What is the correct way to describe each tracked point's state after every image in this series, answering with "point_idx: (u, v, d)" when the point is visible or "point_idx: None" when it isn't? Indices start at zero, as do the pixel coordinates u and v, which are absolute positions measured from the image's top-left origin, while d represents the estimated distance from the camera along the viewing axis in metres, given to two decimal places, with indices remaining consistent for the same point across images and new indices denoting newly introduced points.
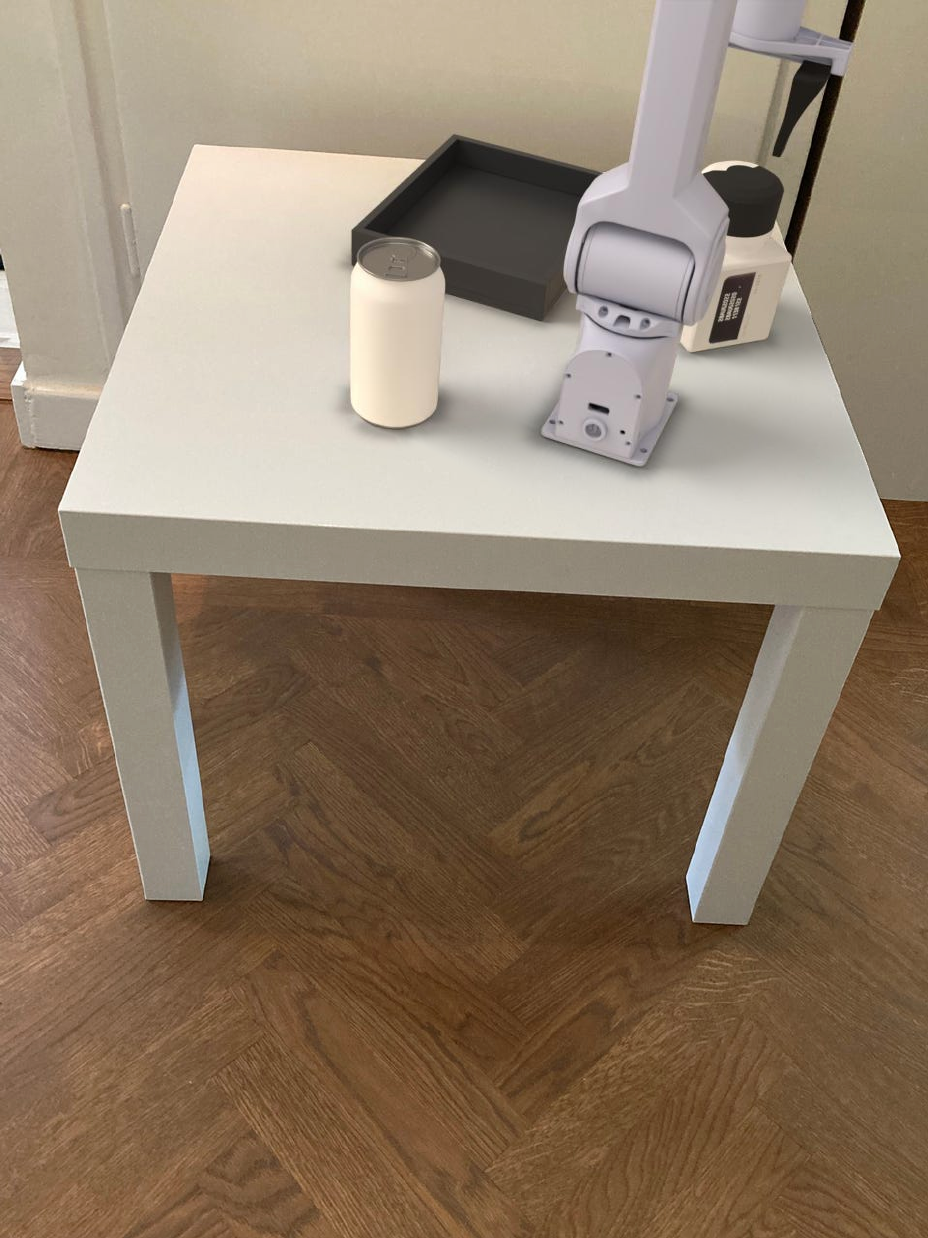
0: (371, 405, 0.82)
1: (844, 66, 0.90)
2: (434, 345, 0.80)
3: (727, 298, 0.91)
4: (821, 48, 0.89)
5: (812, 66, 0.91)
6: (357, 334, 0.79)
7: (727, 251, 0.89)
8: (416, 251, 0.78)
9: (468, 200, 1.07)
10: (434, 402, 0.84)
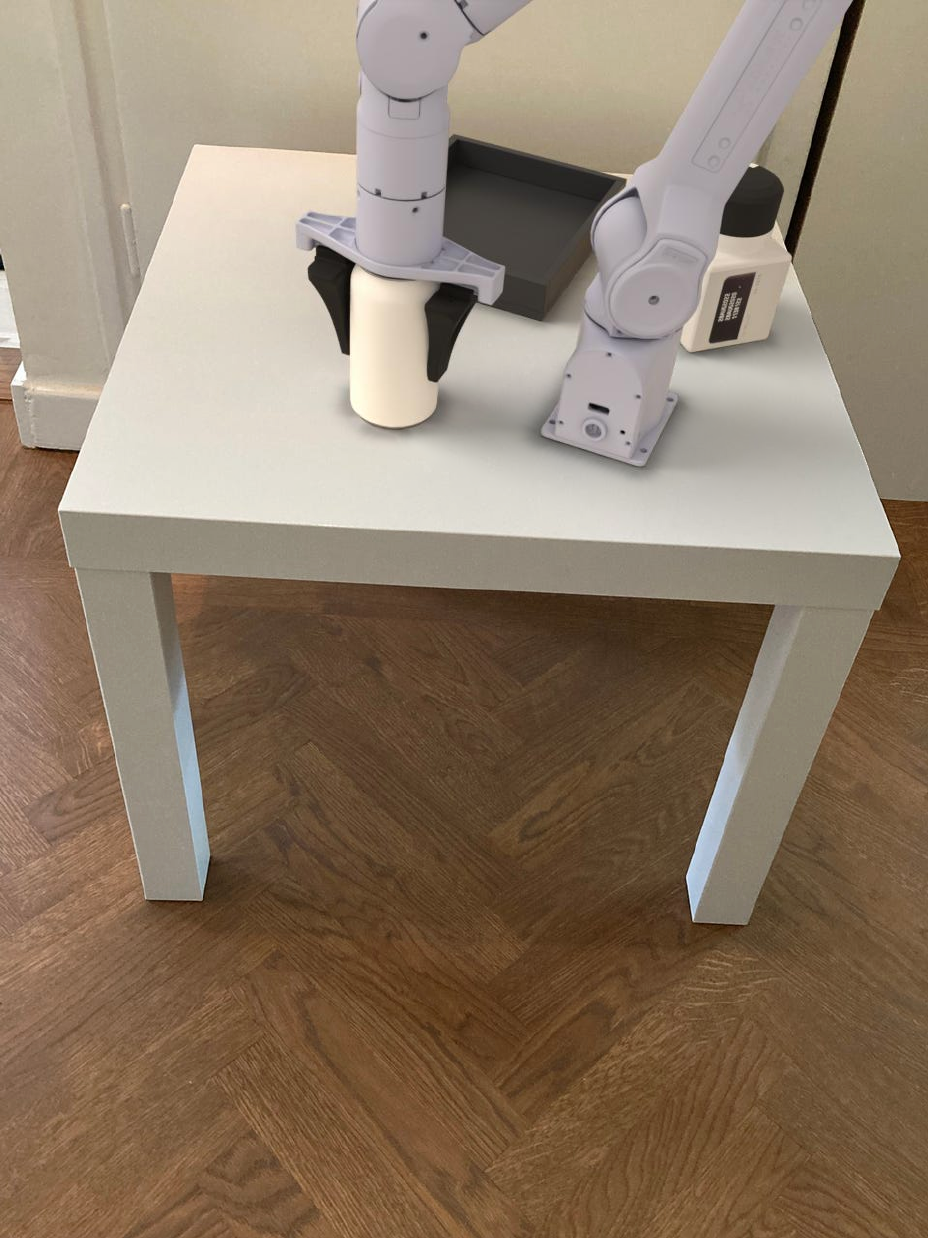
0: (371, 405, 0.82)
1: (490, 295, 0.75)
2: None
3: (727, 298, 0.91)
4: (460, 275, 0.74)
5: (451, 290, 0.76)
6: (356, 334, 0.79)
7: (727, 251, 0.89)
8: None
9: (468, 200, 1.07)
10: (434, 402, 0.84)
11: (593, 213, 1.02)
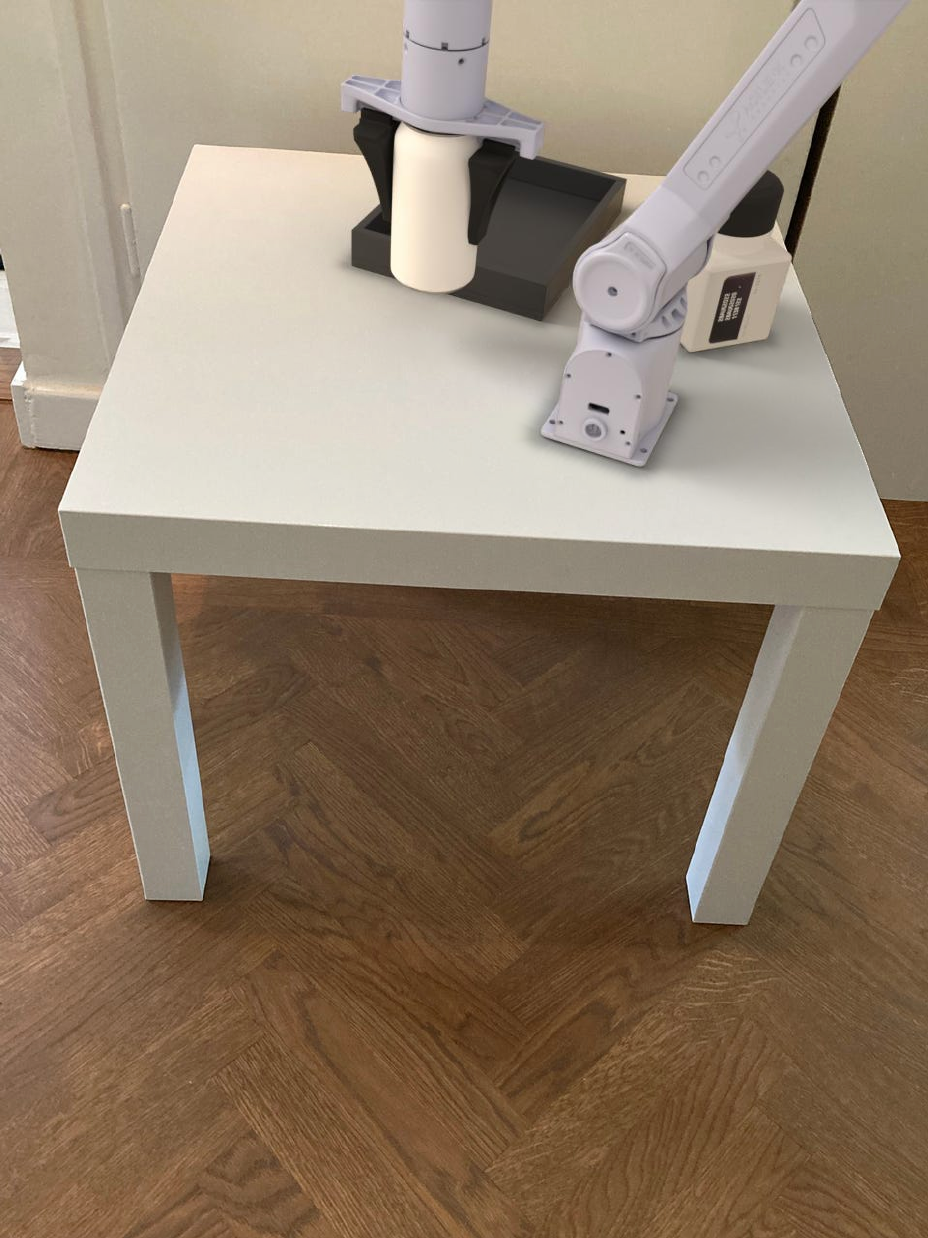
0: (412, 269, 0.85)
1: (532, 148, 0.78)
2: None
3: (727, 298, 0.91)
4: (503, 128, 0.77)
5: (493, 146, 0.79)
6: (400, 195, 0.82)
7: (727, 251, 0.89)
8: None
9: None
10: (472, 269, 0.87)
11: (593, 213, 1.02)
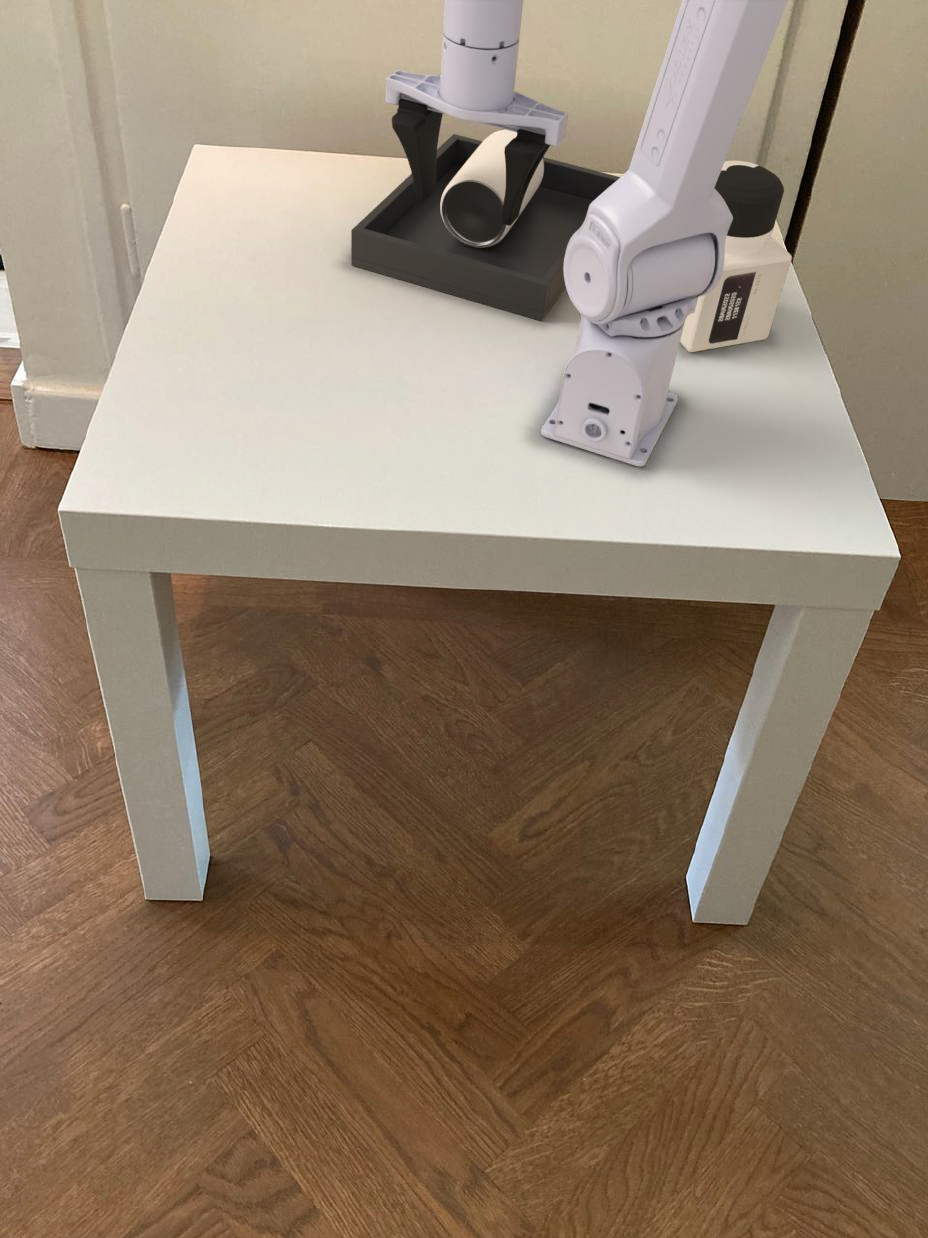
0: (477, 167, 0.98)
1: (556, 136, 0.87)
2: (531, 180, 1.02)
3: (727, 298, 0.91)
4: (531, 118, 0.87)
5: (526, 136, 0.88)
6: (480, 147, 1.02)
7: (727, 251, 0.89)
8: None
9: None
10: None
11: None
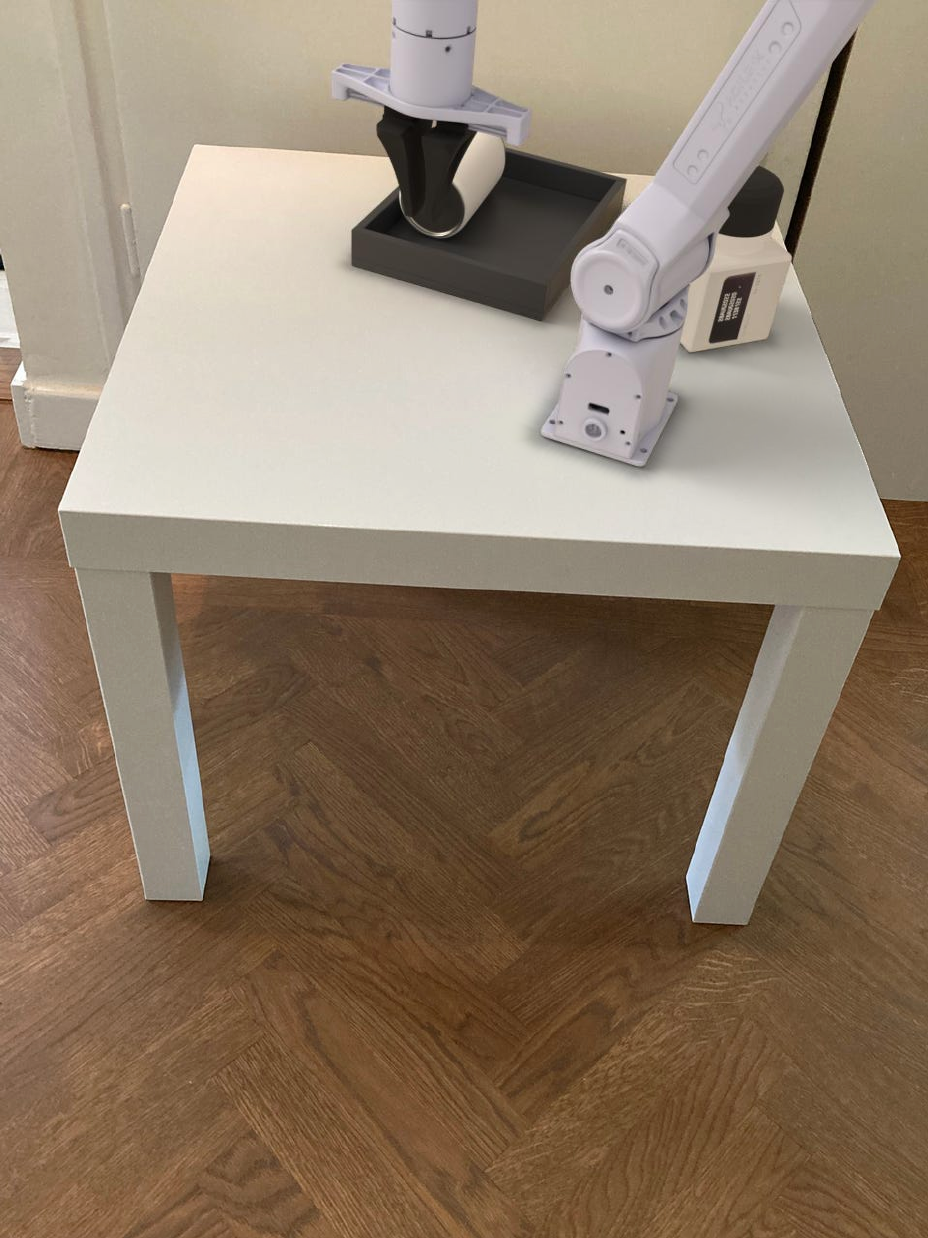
0: None
1: (518, 136, 0.79)
2: None
3: (727, 298, 0.91)
4: (490, 115, 0.78)
5: (446, 124, 0.81)
6: None
7: (727, 251, 0.89)
8: None
9: None
10: None
11: (593, 213, 1.02)
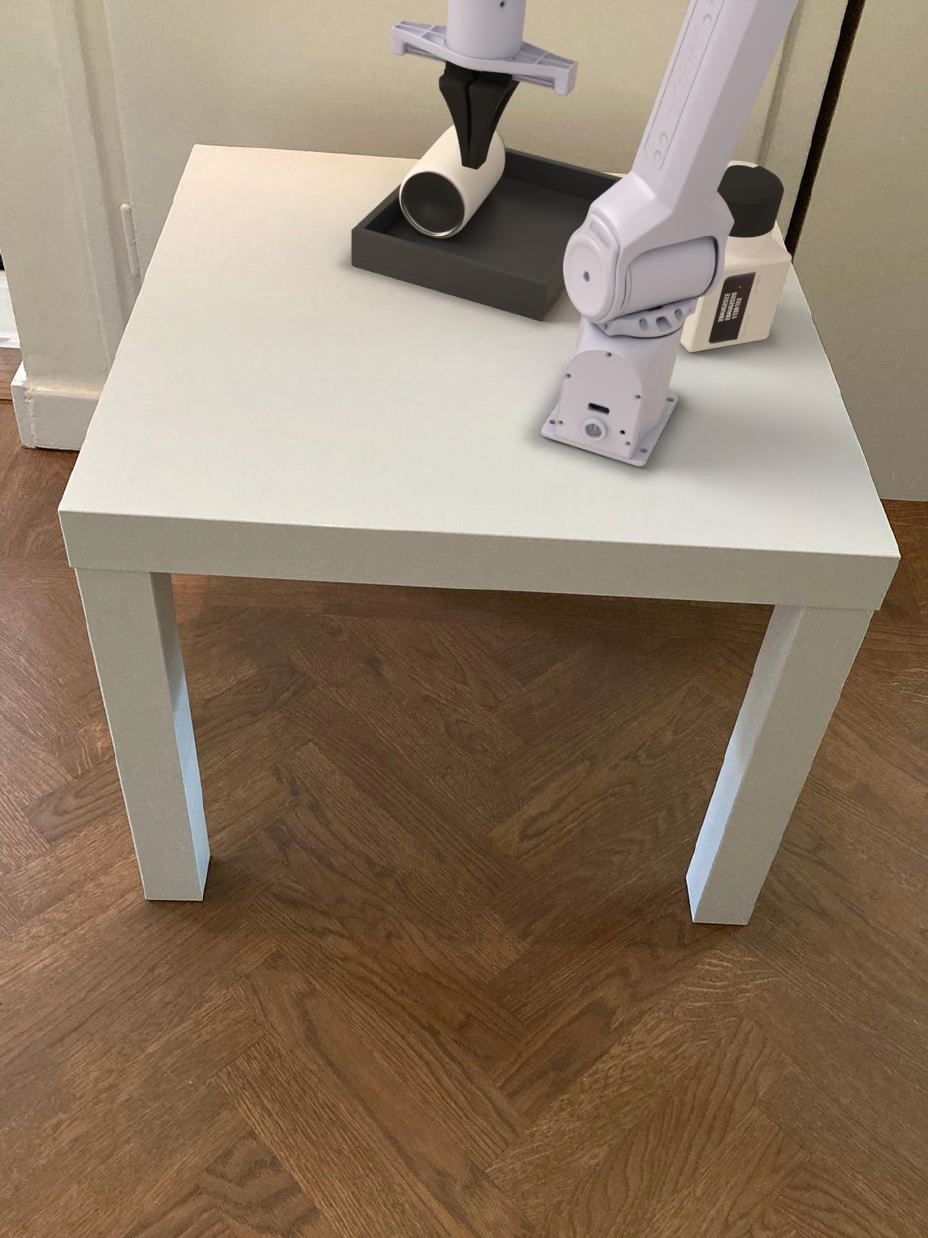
0: None
1: (566, 86, 0.85)
2: None
3: (727, 298, 0.91)
4: (539, 67, 0.85)
5: (492, 75, 0.87)
6: None
7: (727, 251, 0.89)
8: None
9: None
10: (450, 166, 0.98)
11: None
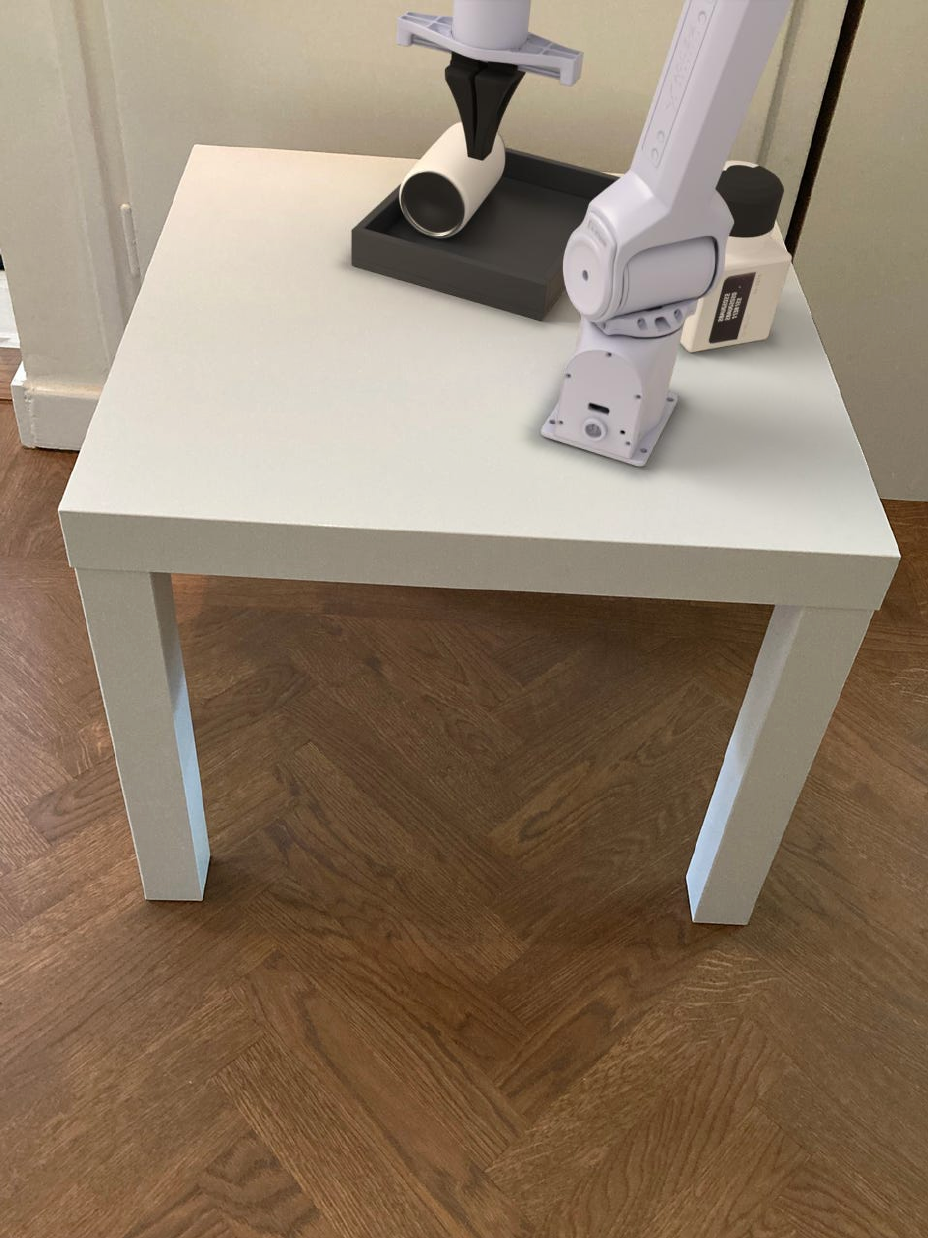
0: None
1: (571, 76, 0.85)
2: (464, 139, 1.01)
3: (727, 298, 0.91)
4: (545, 57, 0.85)
5: (498, 66, 0.87)
6: None
7: (727, 251, 0.89)
8: None
9: None
10: (450, 166, 0.98)
11: None
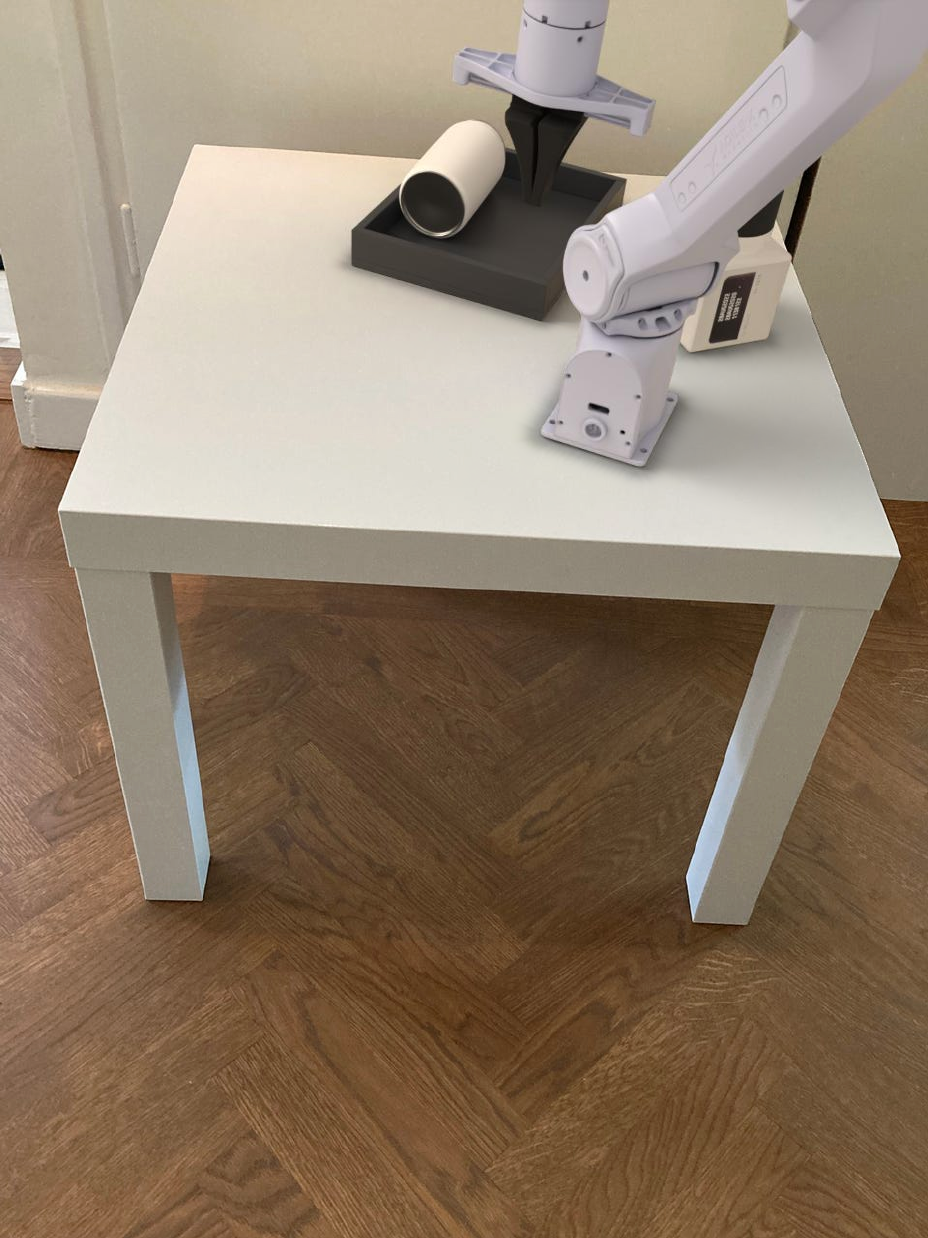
0: None
1: (642, 127, 0.80)
2: (464, 139, 1.01)
3: (727, 298, 0.91)
4: (616, 106, 0.79)
5: (562, 111, 0.81)
6: None
7: None
8: None
9: None
10: (450, 166, 0.98)
11: (593, 213, 1.02)
